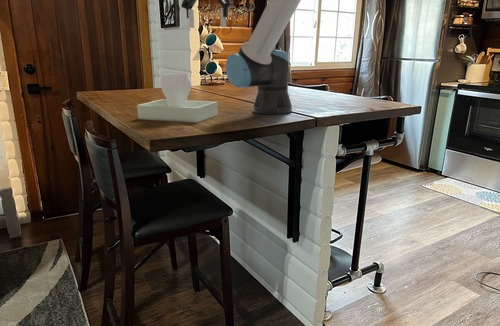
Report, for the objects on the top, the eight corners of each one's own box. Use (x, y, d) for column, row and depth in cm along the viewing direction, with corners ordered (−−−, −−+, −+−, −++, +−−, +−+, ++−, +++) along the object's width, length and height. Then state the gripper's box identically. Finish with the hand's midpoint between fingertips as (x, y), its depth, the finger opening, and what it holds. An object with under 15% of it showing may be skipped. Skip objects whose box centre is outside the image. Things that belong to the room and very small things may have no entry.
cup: (186, 118, 135) (184, 74, 131) (158, 117, 137) (155, 74, 133) (196, 113, 145) (194, 72, 141) (170, 112, 147) (167, 72, 143)
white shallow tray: (217, 115, 144) (217, 101, 143) (197, 122, 130) (196, 108, 128) (163, 111, 153) (162, 99, 151) (138, 118, 138) (137, 105, 137)
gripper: (240, -36, 139) (241, 26, 146) (180, -30, 148) (183, 28, 154) (232, -40, 133) (233, 25, 139) (170, -34, 141) (173, 27, 148)
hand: (207, 27), depth 147 cm, fingers open, 13 cm apart
